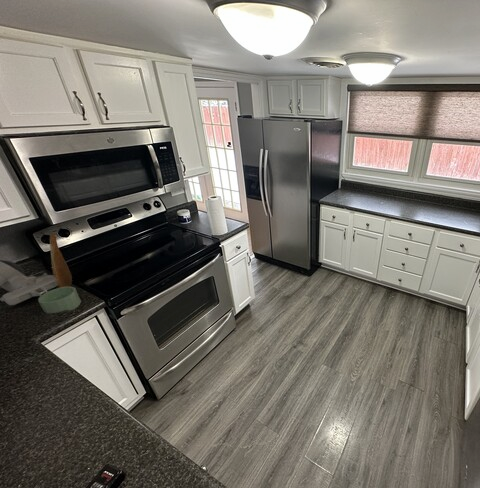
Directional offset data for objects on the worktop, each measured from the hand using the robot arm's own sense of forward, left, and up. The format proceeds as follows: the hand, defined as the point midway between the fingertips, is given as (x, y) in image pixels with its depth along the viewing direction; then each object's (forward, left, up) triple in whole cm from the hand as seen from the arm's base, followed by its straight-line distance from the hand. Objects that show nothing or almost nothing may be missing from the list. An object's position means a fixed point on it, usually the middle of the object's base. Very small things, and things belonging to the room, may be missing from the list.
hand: (43, 293), depth 126 cm
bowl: (+10, -3, -6) cm, 12 cm away
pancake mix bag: (-5, +16, -6) cm, 17 cm away
